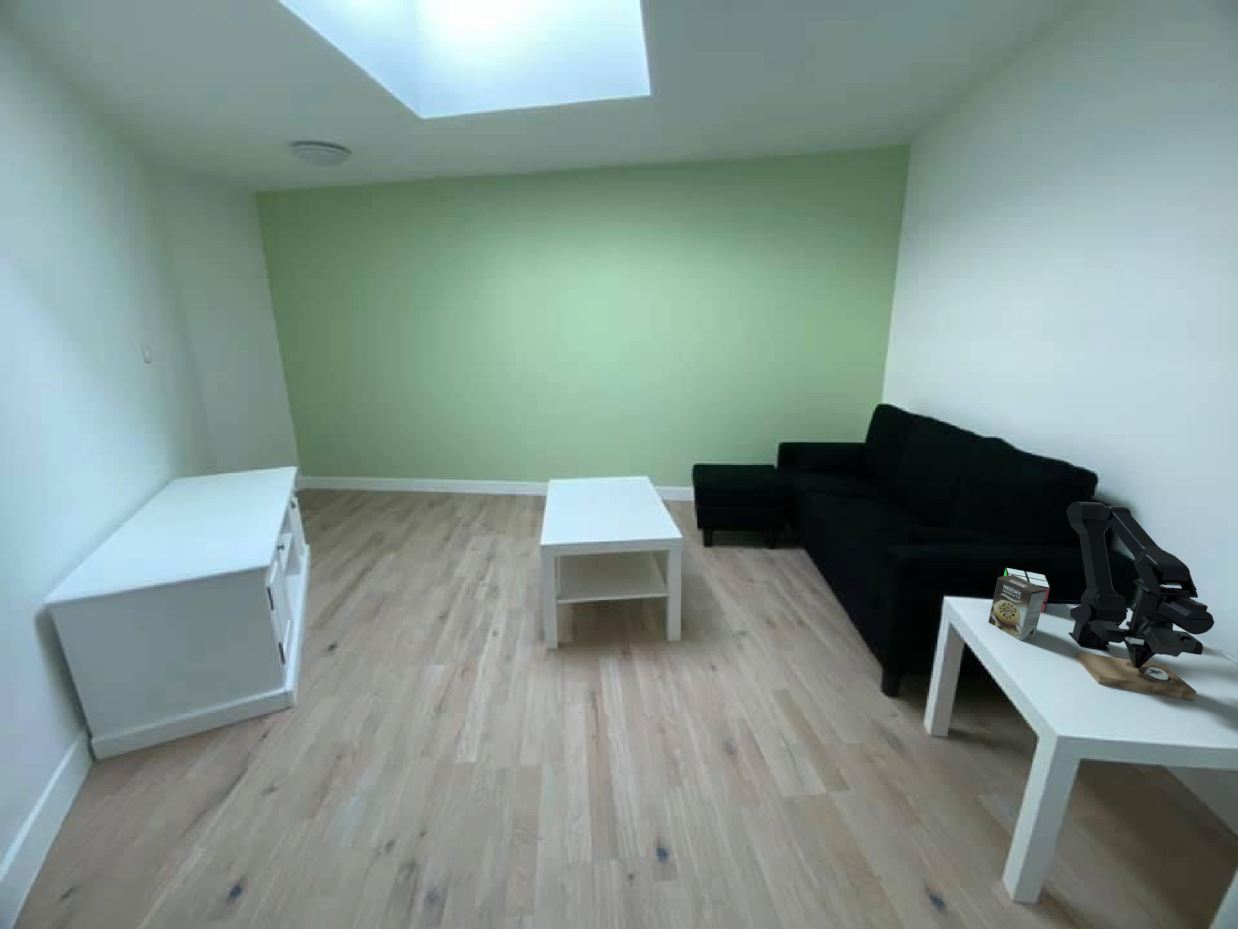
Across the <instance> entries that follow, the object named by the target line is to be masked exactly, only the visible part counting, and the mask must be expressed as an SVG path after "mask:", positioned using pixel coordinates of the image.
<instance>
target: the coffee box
mask: <svg viewBox="0 0 1238 929" xmlns="http://www.w3.org/2000/svg"><path fill="white" fill-rule="evenodd" d="M1045 594H1046V589H1045V588H1042V587H1040V586H1038V585H1035V584H1033V583H1031V582H1028V581H1026V580H1024V579H1021V578H1019V577H1017V576H1015V575H1010V576H1004V575H1003V576H999V577H997V579H996V585H995V588H994V594H993V597H992V601H991V602H992V604H991V608H990V612H989V616H988V617H989V618H988V624H990V625H992V626H994V627H995V626H996V628H997V629H999V630H1000V631H1002V632H1004V633H1006V634H1008V635H1010V637H1013V638H1014V639H1016V640H1018V641H1024V640H1027V639H1032V638H1034V637H1035V636H1036V632H1037V629H1038V625H1039V620H1040V616H1041V613H1042V612H1041V609H1042V605H1043V601H1044V597H1045Z"/></svg>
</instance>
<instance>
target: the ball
mask: <svg viewBox="0 0 1238 929" xmlns="http://www.w3.org/2000/svg"><path fill="white" fill-rule="evenodd" d="M1144 675H1145V676H1148V677H1150V678H1152V679H1155V680H1159V681H1166V682H1168V681H1169V677H1168V675H1167V673H1166V672H1164V671H1163V670H1161V669H1159V668H1154V667H1153V668H1148V669H1147V670H1146V671H1145V674H1144Z"/></svg>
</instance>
